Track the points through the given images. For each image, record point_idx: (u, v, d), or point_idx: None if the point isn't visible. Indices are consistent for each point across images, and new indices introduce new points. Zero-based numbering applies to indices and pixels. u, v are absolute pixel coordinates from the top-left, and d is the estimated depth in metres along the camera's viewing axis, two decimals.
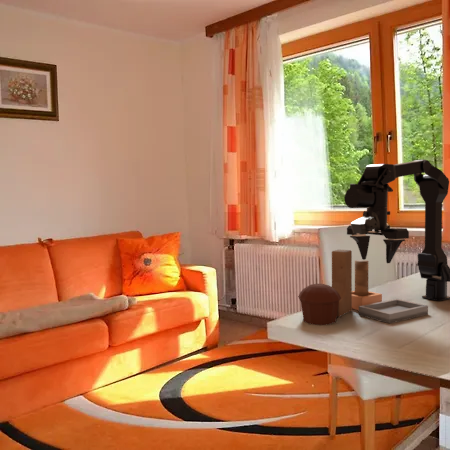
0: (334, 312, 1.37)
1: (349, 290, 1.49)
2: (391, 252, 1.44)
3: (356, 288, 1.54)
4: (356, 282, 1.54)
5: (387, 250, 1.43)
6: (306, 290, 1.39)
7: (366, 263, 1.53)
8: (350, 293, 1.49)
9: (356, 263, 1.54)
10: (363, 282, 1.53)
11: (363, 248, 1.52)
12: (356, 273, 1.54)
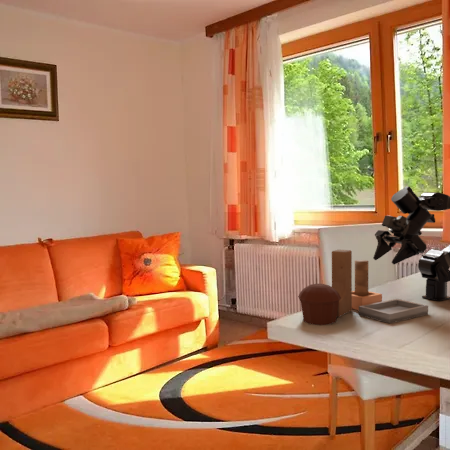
0: (333, 312, 1.37)
1: (349, 290, 1.49)
2: (401, 255, 1.52)
3: (356, 288, 1.54)
4: (356, 282, 1.54)
5: (399, 251, 1.52)
6: (306, 290, 1.39)
7: (366, 263, 1.53)
8: (350, 293, 1.49)
9: (356, 263, 1.54)
10: (363, 282, 1.53)
11: (380, 251, 1.62)
12: (356, 273, 1.54)
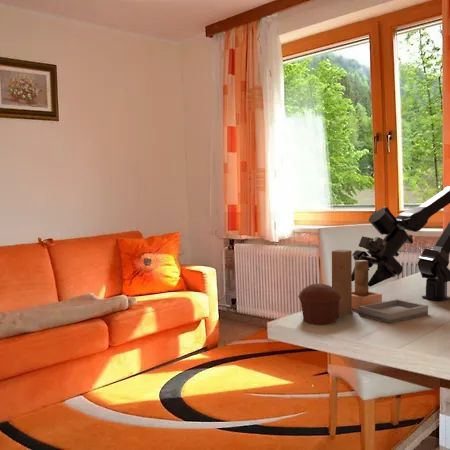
0: (334, 312, 1.37)
1: (349, 290, 1.49)
2: (377, 277, 1.50)
3: (356, 288, 1.54)
4: (356, 282, 1.54)
5: (375, 273, 1.50)
6: (306, 290, 1.39)
7: (366, 263, 1.53)
8: (350, 293, 1.49)
9: (356, 263, 1.54)
10: (363, 282, 1.53)
11: None
12: (356, 273, 1.54)
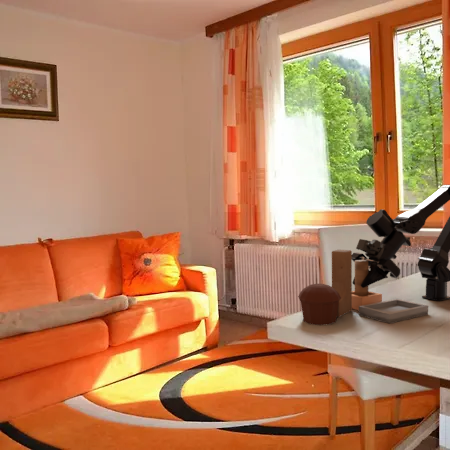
0: (333, 311, 1.37)
1: (349, 290, 1.49)
2: (370, 279, 1.52)
3: (356, 288, 1.54)
4: (356, 282, 1.54)
5: (368, 275, 1.52)
6: (306, 290, 1.39)
7: (366, 263, 1.53)
8: (350, 293, 1.49)
9: (356, 263, 1.54)
10: None
11: None
12: (356, 273, 1.54)
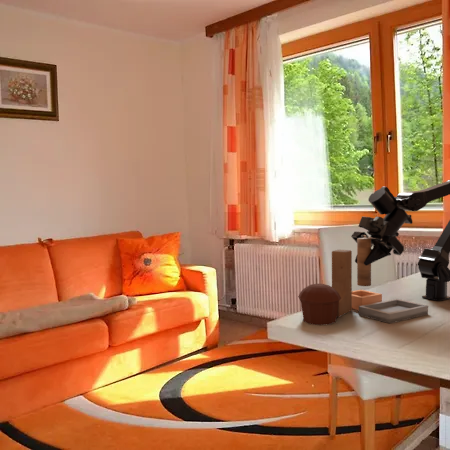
0: (334, 312, 1.37)
1: (349, 290, 1.49)
2: (373, 256, 1.50)
3: (359, 266, 1.52)
4: (359, 260, 1.52)
5: (371, 252, 1.50)
6: (306, 290, 1.39)
7: (369, 240, 1.51)
8: (350, 293, 1.49)
9: (359, 241, 1.52)
10: None
11: None
12: (359, 251, 1.52)
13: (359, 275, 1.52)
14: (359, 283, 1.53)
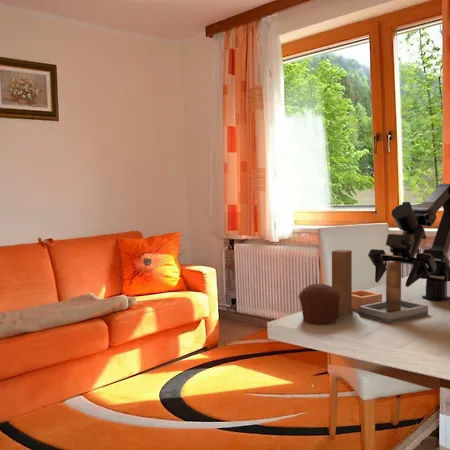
0: (334, 312, 1.37)
1: (349, 290, 1.49)
2: (414, 277, 1.41)
3: (390, 291, 1.44)
4: (391, 285, 1.43)
5: (412, 272, 1.41)
6: (306, 290, 1.39)
7: (400, 264, 1.44)
8: (350, 293, 1.49)
9: (391, 264, 1.43)
10: (399, 284, 1.43)
11: (379, 272, 1.48)
12: (391, 275, 1.43)
13: (391, 301, 1.44)
14: (391, 309, 1.44)
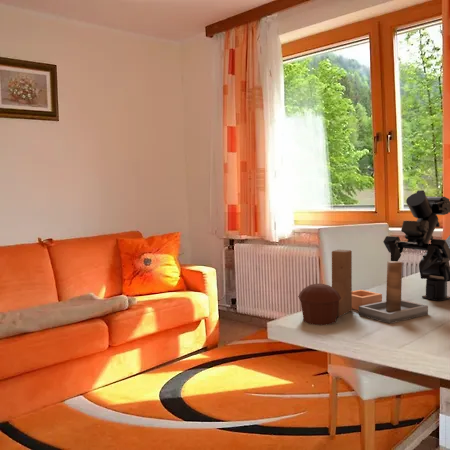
0: (334, 312, 1.37)
1: (349, 290, 1.49)
2: (428, 261, 1.47)
3: (391, 292, 1.43)
4: (391, 285, 1.43)
5: (426, 257, 1.47)
6: (306, 290, 1.39)
7: (401, 264, 1.43)
8: (350, 293, 1.49)
9: (391, 265, 1.43)
10: (399, 285, 1.43)
11: (395, 257, 1.54)
12: (391, 276, 1.43)
13: (391, 301, 1.43)
14: (391, 310, 1.44)
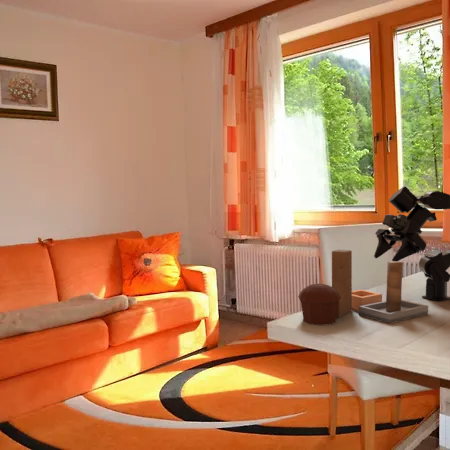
0: (334, 312, 1.37)
1: (349, 290, 1.49)
2: (401, 253, 1.54)
3: (391, 292, 1.43)
4: (391, 285, 1.43)
5: (399, 249, 1.55)
6: (306, 290, 1.39)
7: None
8: (350, 293, 1.49)
9: (392, 265, 1.43)
10: (399, 285, 1.43)
11: (380, 249, 1.64)
12: (391, 275, 1.43)
13: (391, 301, 1.43)
14: (390, 310, 1.44)
